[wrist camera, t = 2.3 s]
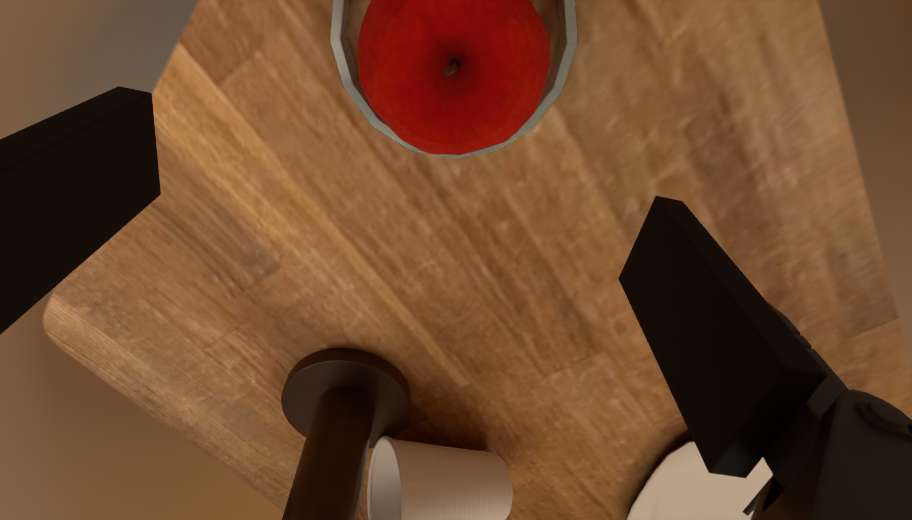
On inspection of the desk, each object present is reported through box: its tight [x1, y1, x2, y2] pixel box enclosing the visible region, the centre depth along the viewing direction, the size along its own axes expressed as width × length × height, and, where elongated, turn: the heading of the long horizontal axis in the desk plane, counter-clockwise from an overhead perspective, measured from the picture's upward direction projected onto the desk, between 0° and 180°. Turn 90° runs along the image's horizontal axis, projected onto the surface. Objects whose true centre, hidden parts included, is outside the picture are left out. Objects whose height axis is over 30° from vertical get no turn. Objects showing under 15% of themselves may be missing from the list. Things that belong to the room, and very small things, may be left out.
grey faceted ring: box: [330, 0, 578, 159], centre depth 30 cm, size 14×14×2 cm
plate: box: [626, 440, 773, 520], centre depth 53 cm, size 18×18×2 cm
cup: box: [367, 436, 513, 520], centre depth 46 cm, size 10×10×11 cm
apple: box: [358, 0, 551, 155], centre depth 26 cm, size 9×9×11 cm
